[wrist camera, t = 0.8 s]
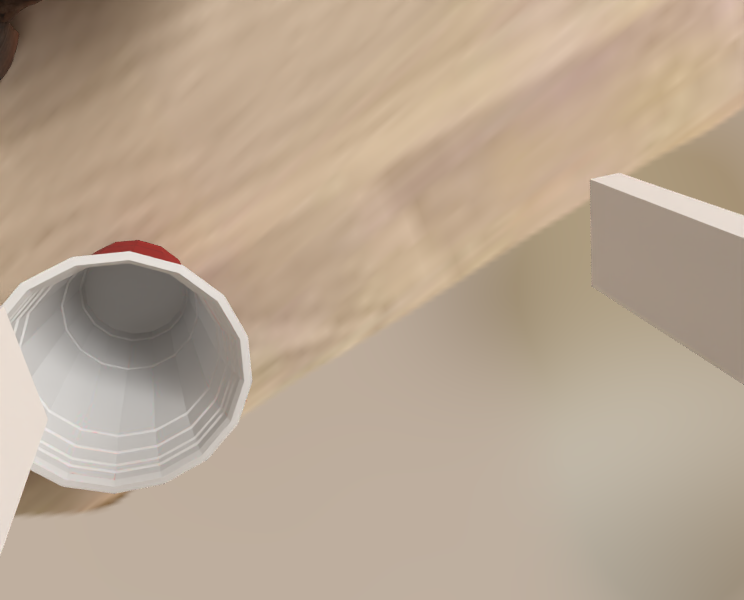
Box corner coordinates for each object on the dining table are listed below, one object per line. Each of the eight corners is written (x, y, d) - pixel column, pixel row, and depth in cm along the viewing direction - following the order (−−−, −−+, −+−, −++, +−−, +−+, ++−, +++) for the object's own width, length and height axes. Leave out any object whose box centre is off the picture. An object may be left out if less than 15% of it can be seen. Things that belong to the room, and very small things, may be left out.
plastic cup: (274, 296, 41) (304, 391, 31) (131, 406, 42) (111, 538, 31) (148, 149, 37) (131, 199, 26) (-12, 273, 37) (-95, 374, 26)
